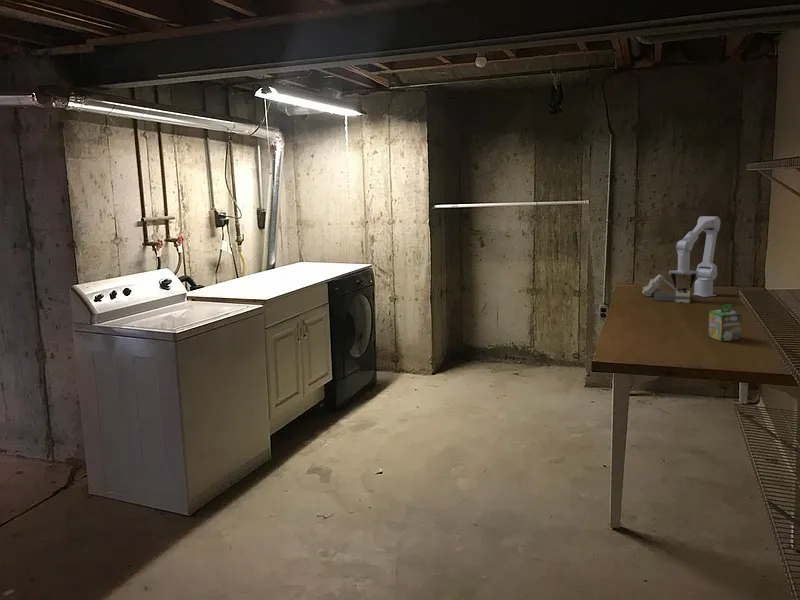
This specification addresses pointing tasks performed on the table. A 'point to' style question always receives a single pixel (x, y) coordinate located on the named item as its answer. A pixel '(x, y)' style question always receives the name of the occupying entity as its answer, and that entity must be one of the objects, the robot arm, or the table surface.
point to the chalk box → (725, 324)
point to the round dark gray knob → (683, 289)
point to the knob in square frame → (672, 296)
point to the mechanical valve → (656, 286)
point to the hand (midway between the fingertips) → (683, 287)
